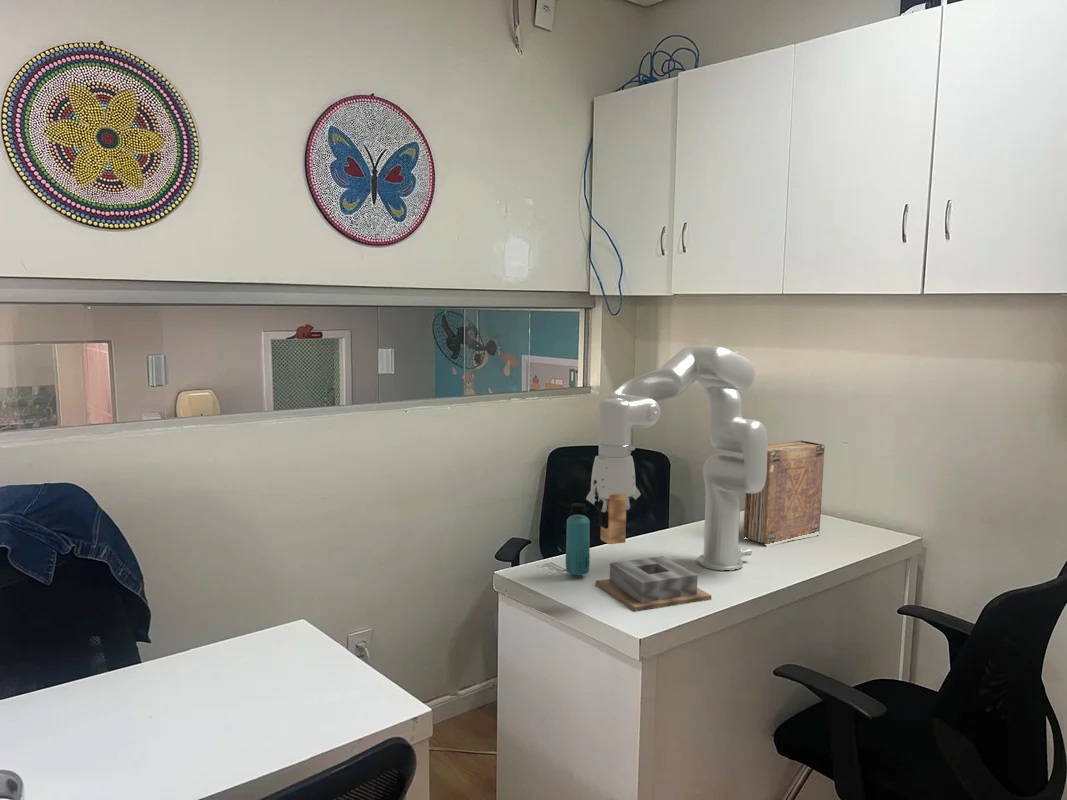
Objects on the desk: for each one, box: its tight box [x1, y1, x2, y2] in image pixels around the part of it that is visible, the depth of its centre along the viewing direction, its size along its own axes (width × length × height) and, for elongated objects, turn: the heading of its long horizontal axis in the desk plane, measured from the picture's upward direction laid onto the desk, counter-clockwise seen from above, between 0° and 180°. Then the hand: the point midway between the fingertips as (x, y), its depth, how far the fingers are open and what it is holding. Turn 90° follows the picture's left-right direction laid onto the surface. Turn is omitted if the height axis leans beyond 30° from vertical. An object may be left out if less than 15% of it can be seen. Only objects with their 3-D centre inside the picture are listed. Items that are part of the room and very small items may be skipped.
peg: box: [599, 493, 627, 545], centre depth 186 cm, size 4×4×12 cm
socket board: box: [595, 555, 712, 612], centre depth 199 cm, size 22×20×6 cm
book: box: [742, 440, 826, 545], centre depth 248 cm, size 25×9×30 cm, turn 122°
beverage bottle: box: [565, 502, 591, 576], centre depth 208 cm, size 6×7×20 cm
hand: (613, 525), depth 187 cm, fingers closed on peg, 4 cm apart
